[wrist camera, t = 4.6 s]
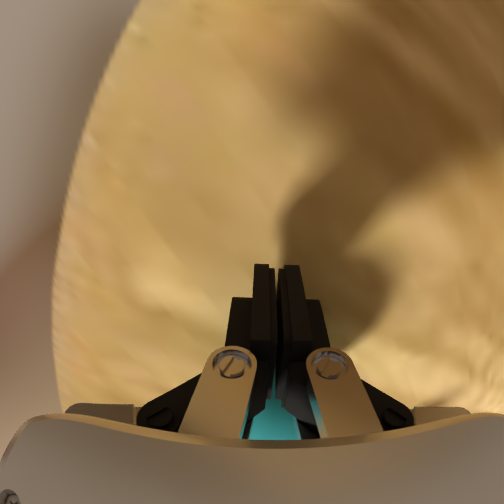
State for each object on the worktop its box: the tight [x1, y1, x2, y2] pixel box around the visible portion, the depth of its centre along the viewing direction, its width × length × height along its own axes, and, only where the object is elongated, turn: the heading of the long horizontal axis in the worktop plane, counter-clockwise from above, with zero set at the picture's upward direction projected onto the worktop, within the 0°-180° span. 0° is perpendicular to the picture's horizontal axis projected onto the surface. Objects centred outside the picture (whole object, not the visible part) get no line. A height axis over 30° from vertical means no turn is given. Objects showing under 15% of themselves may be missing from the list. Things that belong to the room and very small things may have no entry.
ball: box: [250, 370, 297, 440], centre depth 12 cm, size 6×6×6 cm
